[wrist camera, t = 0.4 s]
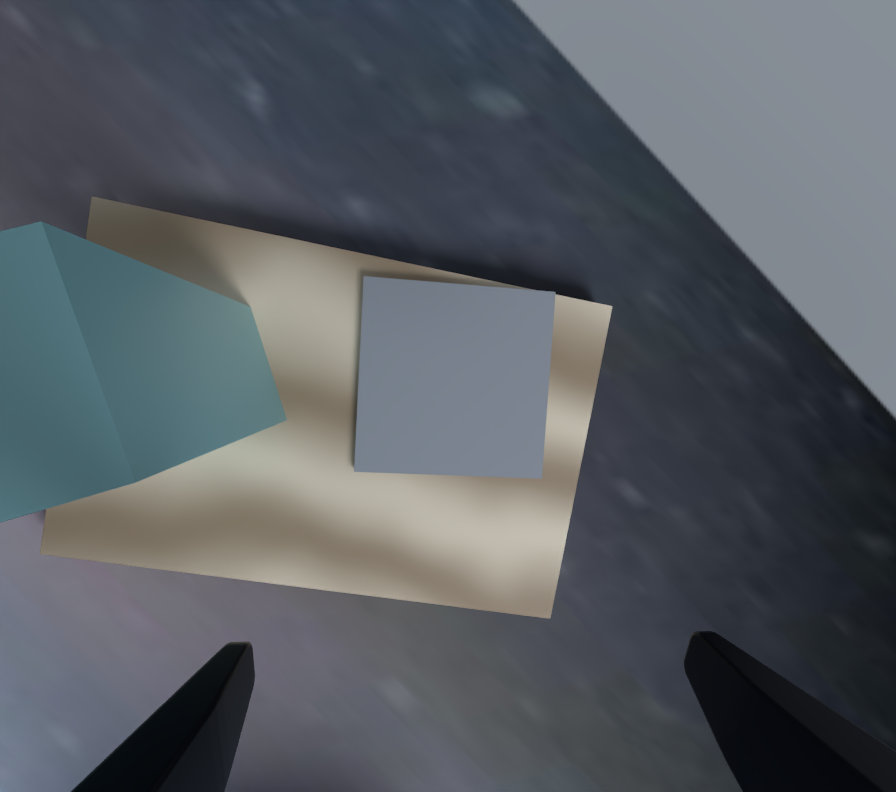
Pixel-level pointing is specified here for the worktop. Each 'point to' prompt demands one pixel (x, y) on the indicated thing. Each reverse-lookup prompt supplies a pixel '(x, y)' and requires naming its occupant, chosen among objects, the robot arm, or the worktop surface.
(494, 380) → the coaster
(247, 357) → the tall teal block
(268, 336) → the board
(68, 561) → the worktop surface
